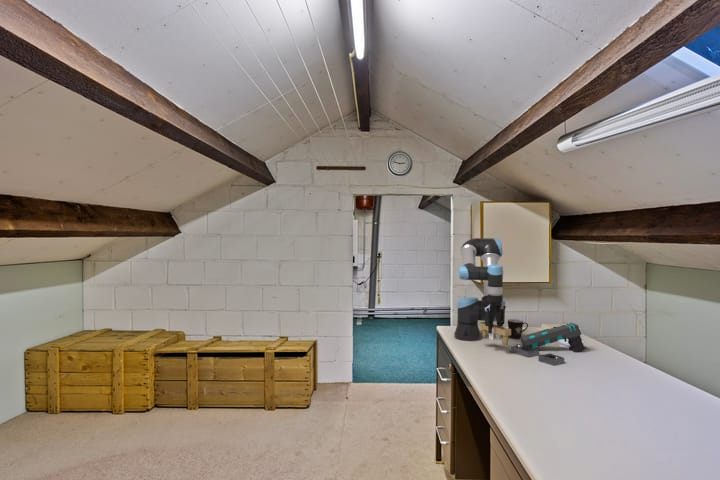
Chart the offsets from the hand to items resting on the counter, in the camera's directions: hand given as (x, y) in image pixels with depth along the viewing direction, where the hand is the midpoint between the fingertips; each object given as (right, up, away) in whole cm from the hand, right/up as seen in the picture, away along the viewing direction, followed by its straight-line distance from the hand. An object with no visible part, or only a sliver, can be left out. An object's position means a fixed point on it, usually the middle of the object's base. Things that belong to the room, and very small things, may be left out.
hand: (494, 338), depth 213 cm
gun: (+30, -7, +1) cm, 31 cm away
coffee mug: (+22, -6, +26) cm, 35 cm away
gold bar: (0, -1, 0) cm, 1 cm away
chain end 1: (+14, -6, -5) cm, 16 cm away
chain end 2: (+21, -6, -19) cm, 29 cm away
